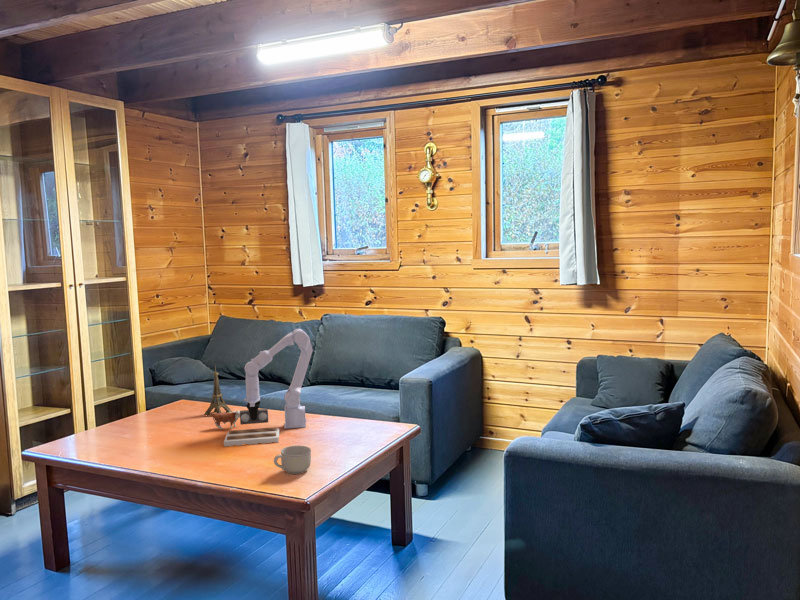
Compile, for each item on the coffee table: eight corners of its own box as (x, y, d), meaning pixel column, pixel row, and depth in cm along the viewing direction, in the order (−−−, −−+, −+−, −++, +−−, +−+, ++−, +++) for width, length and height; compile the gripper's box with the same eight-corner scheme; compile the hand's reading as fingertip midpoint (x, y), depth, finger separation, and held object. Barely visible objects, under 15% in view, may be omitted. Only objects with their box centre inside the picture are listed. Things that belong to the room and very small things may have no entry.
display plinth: (279, 432, 274) (279, 425, 274) (278, 442, 260) (278, 434, 260) (227, 436, 270) (227, 429, 270) (224, 446, 257) (223, 438, 256)
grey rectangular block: (268, 420, 281) (267, 408, 281) (268, 422, 278) (267, 410, 278) (241, 422, 280) (240, 410, 279) (240, 424, 276) (239, 412, 276)
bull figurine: (242, 429, 282) (241, 411, 281) (212, 429, 282) (211, 412, 281) (244, 426, 286) (243, 408, 285) (215, 427, 286) (214, 409, 286)
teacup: (306, 464, 232) (305, 443, 231) (316, 472, 222) (315, 450, 222) (269, 471, 225) (268, 449, 225) (278, 480, 216) (277, 458, 215)
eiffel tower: (216, 410, 317) (213, 362, 315) (233, 412, 313) (230, 362, 311) (202, 416, 308) (199, 365, 306) (219, 417, 304) (216, 366, 302)
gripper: (244, 386, 284) (246, 415, 285) (242, 393, 270) (243, 423, 271) (260, 385, 285) (262, 414, 286) (258, 391, 271) (260, 422, 272)
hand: (254, 418), depth 279 cm, fingers closed on grey rectangular block, 3 cm apart
